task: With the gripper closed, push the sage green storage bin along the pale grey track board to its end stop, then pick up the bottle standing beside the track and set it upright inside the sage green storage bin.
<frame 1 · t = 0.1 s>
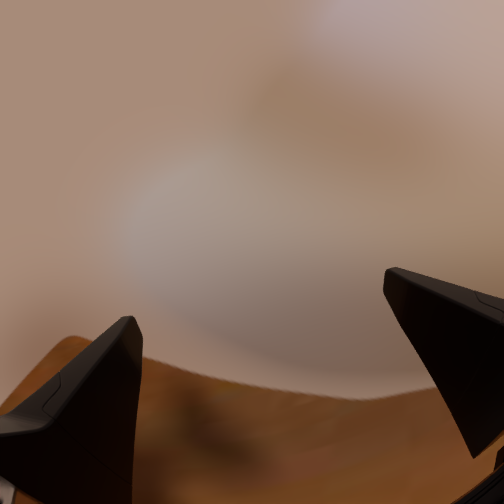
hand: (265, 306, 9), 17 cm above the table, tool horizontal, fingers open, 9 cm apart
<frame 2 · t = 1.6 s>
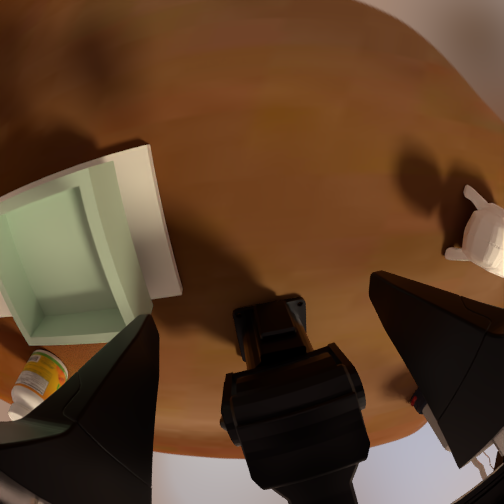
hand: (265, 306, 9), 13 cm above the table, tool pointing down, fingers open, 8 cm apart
white animal figurine: (466, 224, 25), on the table
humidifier: (428, 388, 37), on the table
sage green storage bin: (62, 258, 17), point 4 cm above the table, slide at 0.0 cm
track board: (31, 252, 20), on the table
supplement bottle: (51, 363, 25), on the table
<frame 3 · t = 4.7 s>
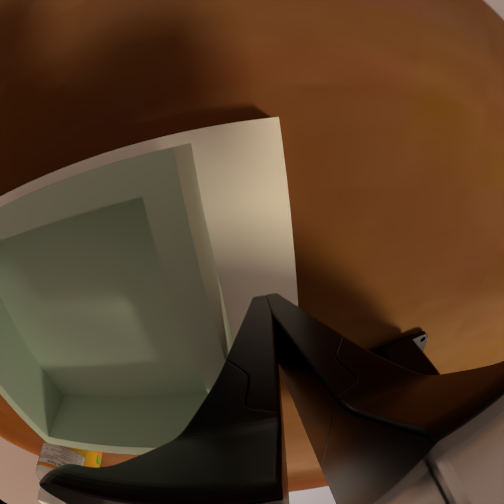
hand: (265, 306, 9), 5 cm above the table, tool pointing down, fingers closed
sage green storage bin: (87, 326, 9), point 4 cm above the table, slide at 1.4 cm, touching gripper
track board: (43, 291, 13), on the table
supplement bottle: (79, 423, 18), on the table
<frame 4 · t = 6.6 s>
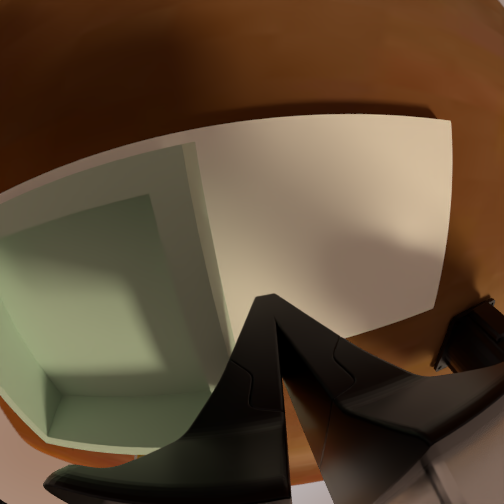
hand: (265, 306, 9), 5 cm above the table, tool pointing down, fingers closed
sage green storage bin: (88, 325, 9), point 4 cm above the table, slide at 11.0 cm, touching gripper
track board: (200, 261, 13), on the table
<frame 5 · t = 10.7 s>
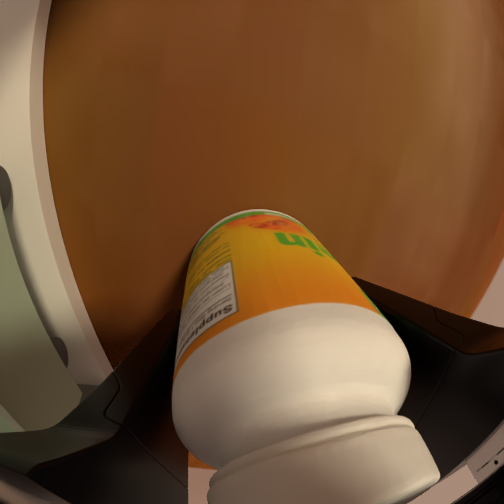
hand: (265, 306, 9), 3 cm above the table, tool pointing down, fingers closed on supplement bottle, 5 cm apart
supplement bottle: (254, 268, 12), on the table, touching gripper
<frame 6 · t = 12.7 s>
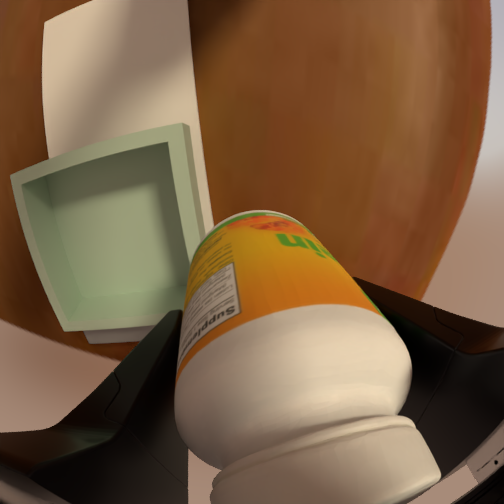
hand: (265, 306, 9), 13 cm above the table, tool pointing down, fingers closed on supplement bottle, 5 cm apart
sage green storage bin: (117, 229, 16), point 4 cm above the table, slide at 11.0 cm
track board: (122, 155, 18), on the table
supplement bottle: (255, 269, 12), point 10 cm above the table, touching gripper
when the fingers open (8 cm above the table, at t = 14.5 s): supplement bottle drops 1 cm, resting on sage green storage bin.
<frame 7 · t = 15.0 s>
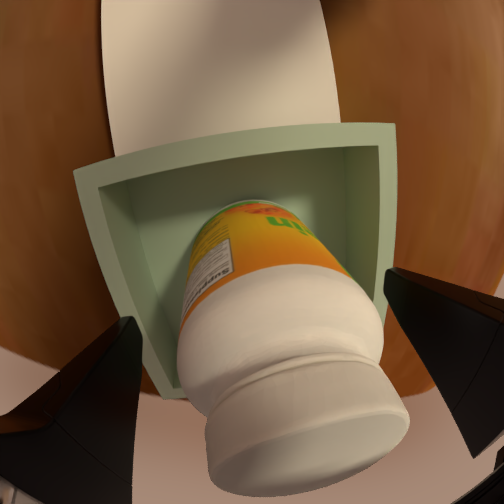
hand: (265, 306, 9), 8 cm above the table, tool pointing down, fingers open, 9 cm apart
sage green storage bin: (250, 258, 13), point 4 cm above the table, slide at 11.0 cm, touching supplement bottle
track board: (230, 151, 14), on the table
supplement bottle: (250, 253, 13), point 4 cm above the table, touching sage green storage bin
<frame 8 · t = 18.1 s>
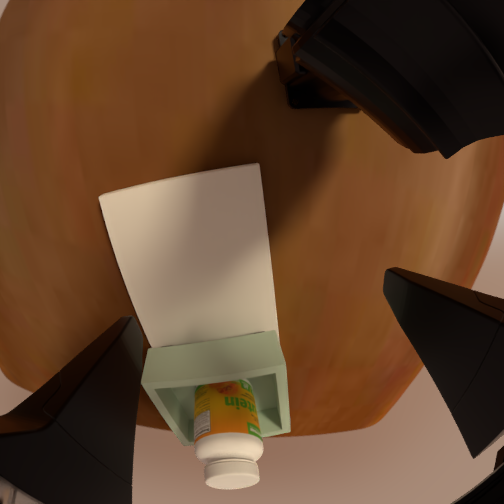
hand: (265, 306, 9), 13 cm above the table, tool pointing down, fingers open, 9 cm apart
sage green storage bin: (223, 391, 23), point 4 cm above the table, slide at 11.0 cm, touching supplement bottle
track board: (211, 329, 25), on the table
supplement bottle: (223, 387, 24), point 4 cm above the table, touching sage green storage bin
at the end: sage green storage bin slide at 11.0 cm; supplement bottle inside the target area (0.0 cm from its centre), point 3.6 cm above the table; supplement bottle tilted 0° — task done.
